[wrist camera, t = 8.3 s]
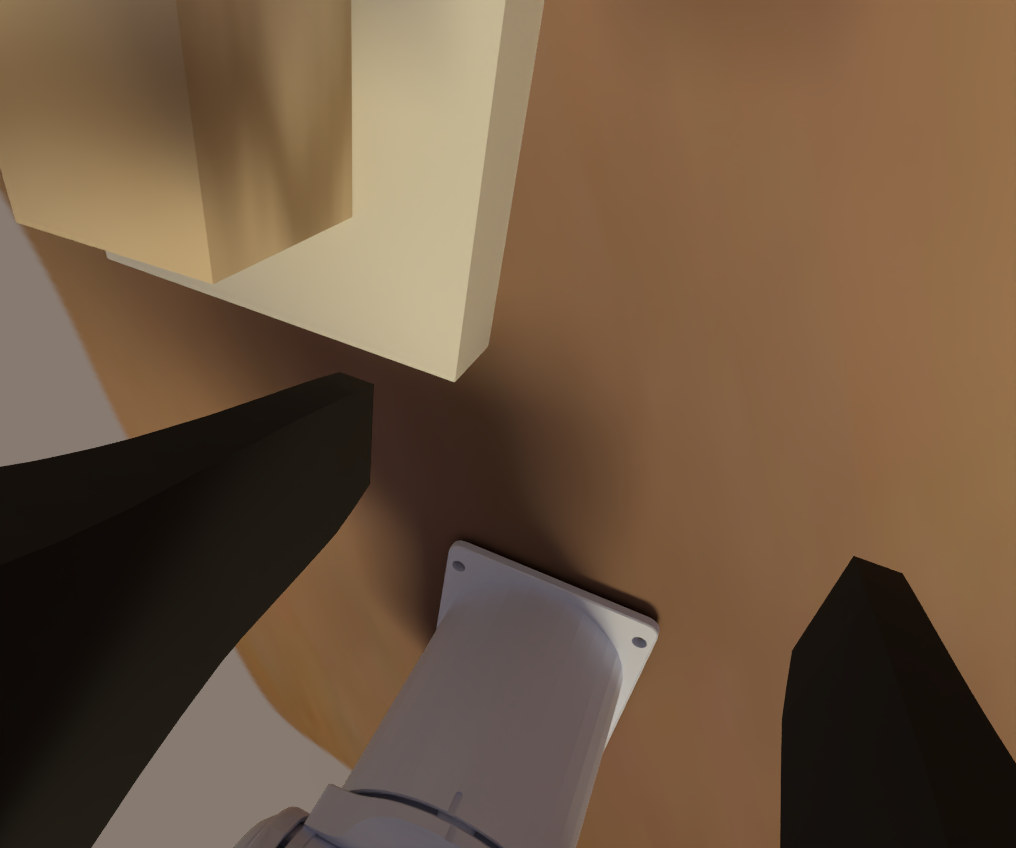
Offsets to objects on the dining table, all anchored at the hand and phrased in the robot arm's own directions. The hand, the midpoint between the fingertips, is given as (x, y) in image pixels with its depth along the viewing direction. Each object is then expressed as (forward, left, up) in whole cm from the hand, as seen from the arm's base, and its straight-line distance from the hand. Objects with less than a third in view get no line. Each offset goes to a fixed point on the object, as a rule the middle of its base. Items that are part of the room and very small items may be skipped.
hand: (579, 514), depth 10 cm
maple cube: (+3, +11, -7) cm, 13 cm away
